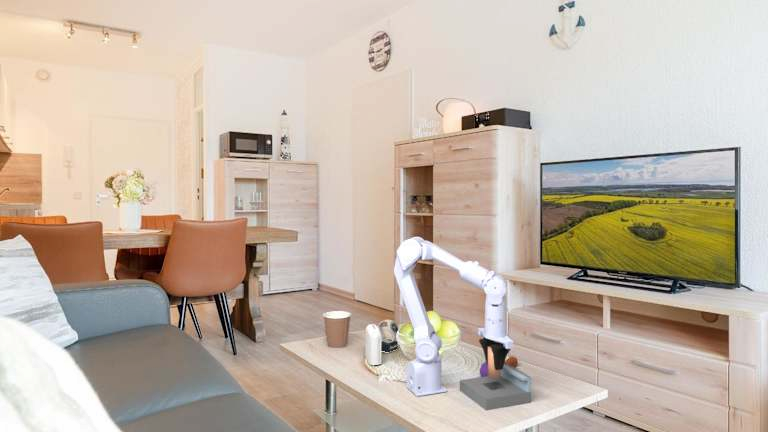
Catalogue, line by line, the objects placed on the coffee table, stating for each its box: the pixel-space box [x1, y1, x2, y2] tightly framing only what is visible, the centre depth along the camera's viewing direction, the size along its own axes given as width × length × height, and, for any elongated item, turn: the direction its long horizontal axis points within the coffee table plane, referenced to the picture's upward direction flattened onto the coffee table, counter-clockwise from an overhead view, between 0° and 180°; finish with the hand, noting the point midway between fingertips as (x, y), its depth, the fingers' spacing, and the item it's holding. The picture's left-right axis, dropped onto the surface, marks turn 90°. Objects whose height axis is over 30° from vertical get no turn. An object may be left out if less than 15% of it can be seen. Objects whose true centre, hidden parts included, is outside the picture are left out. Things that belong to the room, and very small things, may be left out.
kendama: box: [479, 355, 519, 377], centre depth 158 cm, size 6×6×20 cm
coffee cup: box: [322, 310, 352, 350], centre depth 185 cm, size 10×10×12 cm
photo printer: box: [364, 323, 382, 366], centre depth 169 cm, size 10×4×12 cm, turn 13°
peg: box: [488, 346, 501, 378], centre depth 140 cm, size 4×4×8 cm
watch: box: [377, 319, 400, 352], centre depth 181 cm, size 6×8×11 cm
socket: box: [459, 363, 532, 411], centre depth 140 cm, size 14×14×7 cm
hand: (494, 366), depth 140 cm, fingers closed on peg, 3 cm apart
